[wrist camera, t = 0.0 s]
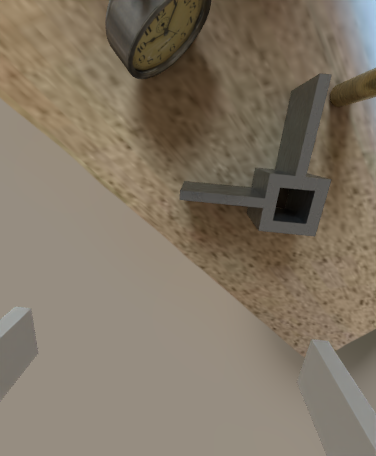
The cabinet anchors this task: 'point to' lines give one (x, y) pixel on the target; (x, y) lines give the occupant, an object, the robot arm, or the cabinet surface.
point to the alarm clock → (153, 32)
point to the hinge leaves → (282, 172)
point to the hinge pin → (354, 89)
